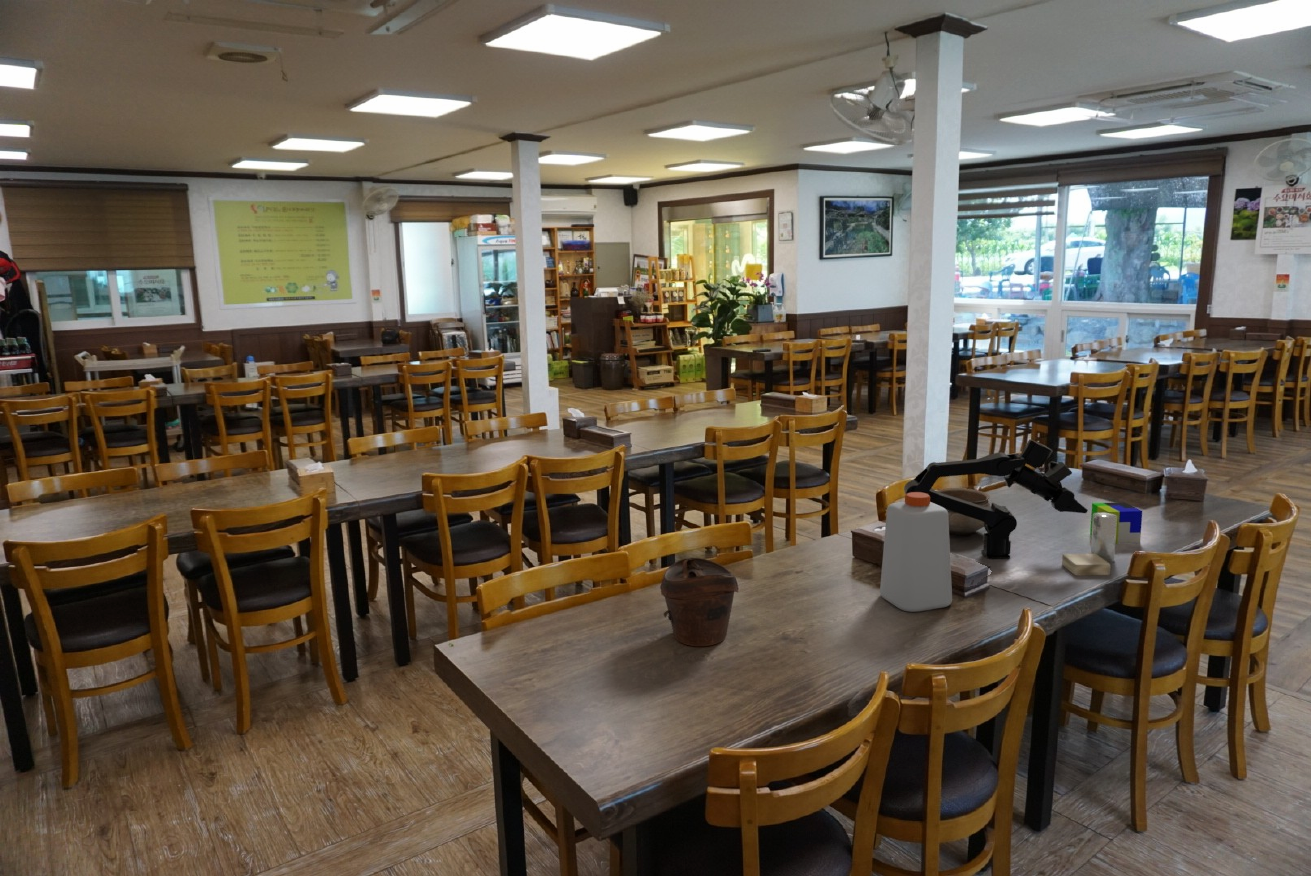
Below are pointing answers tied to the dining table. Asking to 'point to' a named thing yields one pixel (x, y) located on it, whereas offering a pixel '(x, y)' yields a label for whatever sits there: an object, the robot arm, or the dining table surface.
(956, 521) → the cooking pot
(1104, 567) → the birch block
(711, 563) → the brown lidded bucket
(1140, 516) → the puzzle toy
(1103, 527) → the metal cylinder
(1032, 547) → the dining table surface
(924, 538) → the plastic bottle
